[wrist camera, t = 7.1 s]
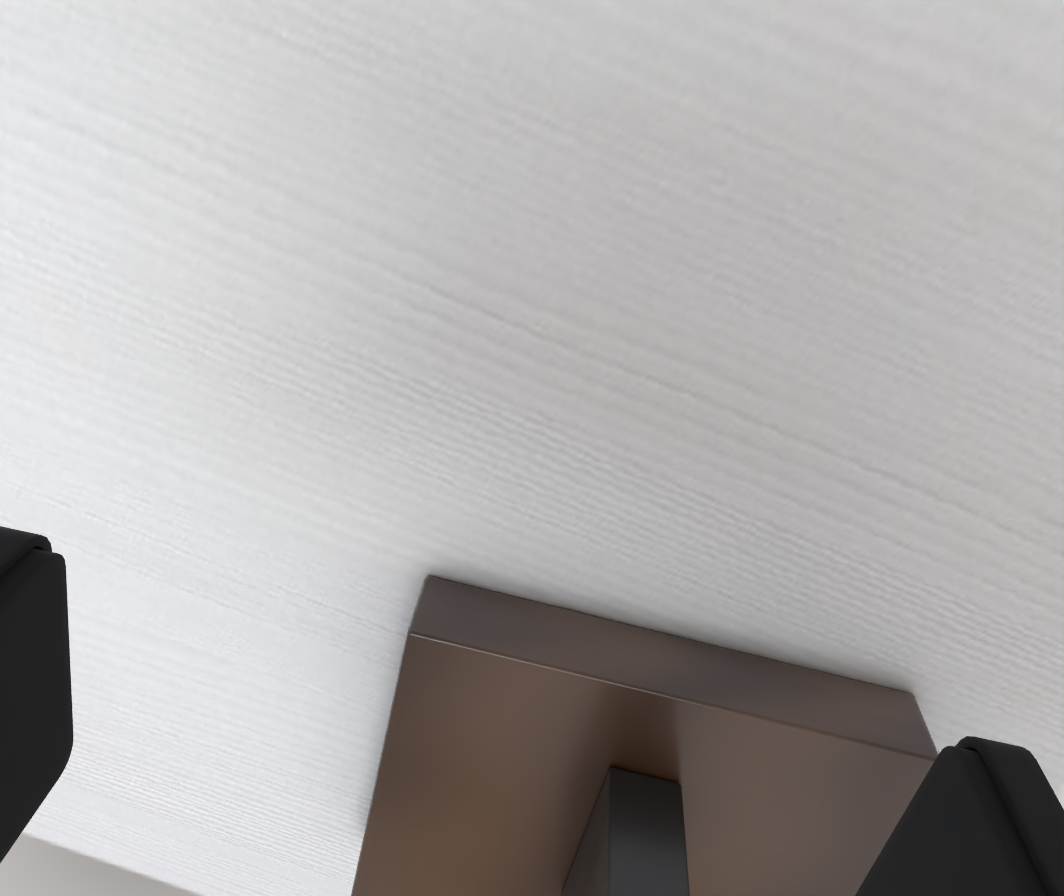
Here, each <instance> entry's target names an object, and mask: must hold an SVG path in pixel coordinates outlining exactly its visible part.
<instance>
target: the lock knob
mask: <svg viewBox="0 0 1064 896" xmlns="http://www.w3.org/2000/svg"><path fill="white" fill-rule="evenodd" d="M561 896H690V889H689V876H688V863H687V850H686V837H685V824H684V810H683V797H682V786H681V784H679V783H675V782H670V781H666V780H662V779H658V778H654V777H650V776H645V775H641V774H637V773H633V772H629V771H625V770H620V769H616V768H610V770H609V772H608V774H607V777H606V780H605V782H604V785H603V787H602V790H601V793H600V795H599V798H598V800H597V803H596V806H595V808H594V811H593V813H592V816H591V819H590V821H589V824H588V826H587V829H586V832H585V834H584V837H583V839H582V842H581V845H580V847H579V850H578V852H577V855H576V858H575V860H574V863H573V865H572V868H571V871H570V873H569V876H568V878H567V881H566V884H565V886H564V889H563V892H562V894H561Z"/></svg>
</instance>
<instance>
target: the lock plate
mask: <svg viewBox="0 0 1064 896" xmlns="http://www.w3.org/2000/svg"><path fill="white" fill-rule="evenodd" d="M937 756H938V752H937V750H936V747H935V745H934V743H933V740H932V738H931V735H930V733H929V731H928V728H927V726H926V723H925V721H924V719H923V716H922V714H921V711H920V709H919V707H918V704H917V702H916V699H915V697H914V696H913V695H912V694H909V693H905V692H901V691H897V690H893V689H889V688H884V687H880V686H876V685H872V684H868V683H864V682H860V681H856V680H852V679H848V678H844V677H840V676H835V675H831V674H827V673H823V672H819V671H815V670H811V669H807V668H803V667H799V666H795V665H790V664H786V663H782V662H778V661H774V660H770V659H766V658H762V657H758V656H754V655H750V654H746V653H741V652H737V651H733V650H729V649H725V648H721V647H717V646H713V645H709V644H705V643H701V642H697V641H692V640H688V639H684V638H680V637H676V636H672V635H668V634H664V633H660V632H656V631H652V630H647V629H643V628H639V627H635V626H631V625H627V624H623V623H619V622H615V621H611V620H607V619H603V618H598V617H594V616H590V615H586V614H582V613H578V612H574V611H570V610H566V609H562V608H558V607H554V606H549V605H545V604H541V603H537V602H533V601H529V600H525V599H521V598H517V597H513V596H509V595H504V594H500V593H496V592H492V591H488V590H484V589H480V588H476V587H472V586H468V585H464V584H460V583H455V582H451V581H447V580H443V579H439V578H435V577H431V576H427V577H426V578H425V581H424V584H423V587H422V590H421V593H420V596H419V599H418V602H417V605H416V608H415V611H414V614H413V617H412V620H411V623H410V626H409V629H408V632H407V637H406V641H405V646H404V651H403V655H402V660H401V665H400V669H399V674H398V679H397V683H396V688H395V693H394V697H393V702H392V707H391V711H390V716H389V721H388V725H387V730H386V735H385V739H384V744H383V749H382V753H381V758H380V763H379V767H378V772H377V777H376V781H375V786H374V791H373V795H372V800H371V805H370V810H369V814H368V819H367V824H366V828H365V833H364V838H363V842H362V847H361V852H360V856H359V861H358V866H357V870H356V875H355V880H354V884H353V889H352V894H351V896H561V894H562V892H563V889H564V886H565V884H566V881H567V878H568V876H569V873H570V871H571V868H572V865H573V863H574V860H575V858H576V855H577V852H578V850H579V847H580V845H581V842H582V839H583V837H584V834H585V832H586V829H587V826H588V824H589V821H590V819H591V816H592V813H593V811H594V808H595V806H596V803H597V800H598V798H599V795H600V793H601V790H602V787H603V785H604V782H605V780H606V777H607V774H608V772H609V770H610V768H616V769H620V770H625V771H629V772H633V773H637V774H641V775H645V776H650V777H654V778H658V779H662V780H666V781H670V782H675V783H679V784H681V786H682V797H683V810H684V824H685V837H686V850H687V863H688V876H689V889H690V896H855V895H856V893H857V891H858V889H859V888H860V886H861V884H862V883H863V881H864V879H865V878H866V876H867V874H868V873H869V871H870V869H871V868H872V866H873V864H874V862H875V861H876V859H877V857H878V856H879V854H880V852H881V851H882V849H883V847H884V846H885V844H886V842H887V841H888V839H889V837H890V835H891V834H892V832H893V830H894V829H895V827H896V825H897V824H898V822H899V820H900V819H901V817H902V815H903V814H904V812H905V810H906V809H907V807H908V805H909V803H910V802H911V800H912V798H913V797H914V795H915V793H916V792H917V790H918V788H919V787H920V785H921V783H922V782H923V780H924V778H925V776H926V775H927V773H928V771H929V770H930V768H931V766H932V765H933V763H934V761H935V760H936V758H937Z"/></svg>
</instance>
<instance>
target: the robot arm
mask: <svg viewBox="0 0 1064 896" xmlns="http://www.w3.org/2000/svg"><path fill="white" fill-rule="evenodd" d="M72 746H73V719H72V696H71V674H70V652H69V629H68V607H67V585H66V565H65V560H64V558H63V556H62V555H60V554H58V553H53V552H52V548H51V543H50V542H49V540H48V539H47V537H44V536H42V535H38V534H33V533H29V532H24V531H20V530H15V529H10V528H6V527H1V526H0V863H1V861H2V860H3V858H4V857H5V856H6V854H7V853H8V851H9V850H10V848H11V847H12V845H13V844H14V843H15V841H16V840H17V838H18V837H19V835H20V834H21V832H22V831H23V830H24V828H25V827H26V825H27V824H28V822H29V821H30V819H31V818H32V816H33V815H34V814H35V812H36V811H37V809H38V808H39V806H40V805H41V803H42V802H43V801H44V799H45V798H46V796H47V795H48V793H49V792H50V790H51V789H52V787H53V786H54V785H55V783H56V782H57V780H58V779H59V777H60V776H61V774H62V772H63V771H64V769H65V767H66V764H67V762H68V760H69V757H70V754H71V750H72ZM855 896H1064V809H1063V808H1062V806H1061V804H1060V802H1059V800H1058V799H1057V797H1056V795H1055V793H1054V791H1053V789H1052V788H1051V786H1050V784H1049V782H1048V780H1047V779H1046V777H1045V775H1044V773H1043V771H1042V769H1041V768H1040V766H1039V764H1038V762H1037V760H1036V759H1035V758H1034V756H1033V755H1032V754H1031V752H1030V751H1028V750H1026V749H1025V748H1023V747H1020V746H1015V745H1010V744H1006V743H1001V742H996V741H992V740H987V739H983V738H978V737H970V736H967V737H965V738H963V739H961V740H960V741H959V742H958V744H957V745H956V746H955V747H953V746H947V747H945V748H944V749H942V751H941V752H940V753H939V755H938V756H937V758H936V760H935V761H934V763H933V765H932V766H931V768H930V770H929V771H928V773H927V775H926V776H925V778H924V780H923V782H922V783H921V785H920V787H919V788H918V790H917V792H916V793H915V795H914V797H913V798H912V800H911V802H910V803H909V805H908V807H907V809H906V810H905V812H904V814H903V815H902V817H901V819H900V820H899V822H898V824H897V825H896V827H895V829H894V830H893V832H892V834H891V835H890V837H889V839H888V841H887V842H886V844H885V846H884V847H883V849H882V851H881V852H880V854H879V856H878V857H877V859H876V861H875V862H874V864H873V866H872V868H871V869H870V871H869V873H868V874H867V876H866V878H865V879H864V881H863V883H862V884H861V886H860V888H859V889H858V891H857V893H856V895H855Z"/></svg>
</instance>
